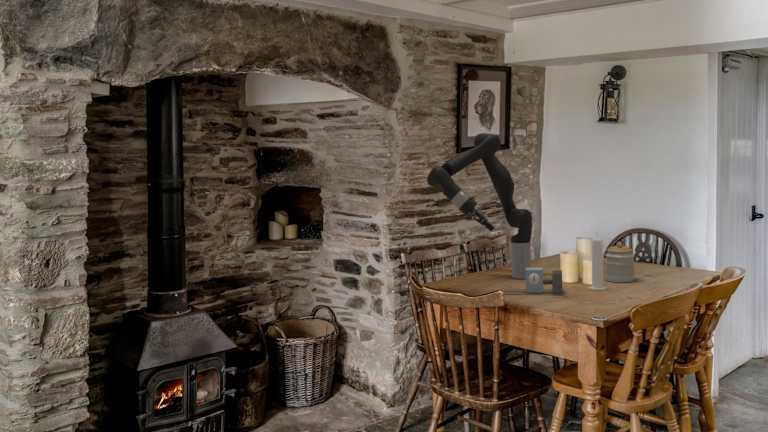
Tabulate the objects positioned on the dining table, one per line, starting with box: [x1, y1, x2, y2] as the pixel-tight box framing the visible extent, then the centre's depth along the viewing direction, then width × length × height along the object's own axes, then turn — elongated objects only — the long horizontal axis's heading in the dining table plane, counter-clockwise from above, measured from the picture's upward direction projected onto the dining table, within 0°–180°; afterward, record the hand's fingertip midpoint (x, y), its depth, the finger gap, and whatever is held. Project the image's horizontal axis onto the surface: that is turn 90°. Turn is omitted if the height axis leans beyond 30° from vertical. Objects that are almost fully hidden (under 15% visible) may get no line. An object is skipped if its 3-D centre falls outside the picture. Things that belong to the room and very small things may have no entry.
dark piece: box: [498, 269, 566, 297], centre depth 309 cm, size 12×28×10 cm, turn 76°
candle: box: [588, 231, 607, 291], centre depth 314 cm, size 7×7×25 cm
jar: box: [604, 241, 636, 283], centre depth 331 cm, size 13×13×18 cm
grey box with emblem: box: [525, 267, 552, 293], centre depth 308 cm, size 6×11×10 cm, turn 76°
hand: (492, 229), depth 313 cm, fingers closed
